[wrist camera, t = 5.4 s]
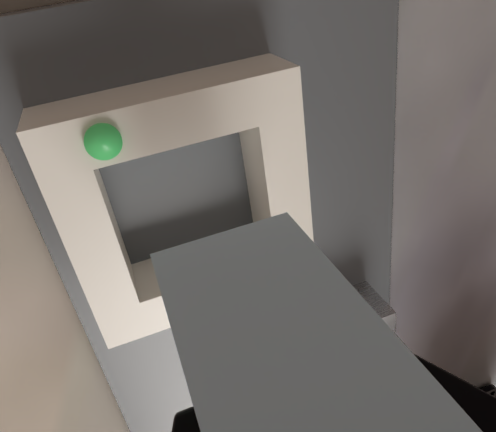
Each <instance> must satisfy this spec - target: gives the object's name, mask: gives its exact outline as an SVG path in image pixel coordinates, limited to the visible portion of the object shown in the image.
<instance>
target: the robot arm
mask: <svg viewBox="0 0 496 432" xmlns="http://www.w3.org/2000/svg"><path fill="white" fill-rule="evenodd" d="M414 355H415V354H414ZM415 356H416V357H417V359H418V360H419V361H420V362H421V363H422V364H423V365H424V366H425V368H426V369H427V370H428V371H429V372H430V373H431V374H432V375H433V377H434V378H435V379H436V380H437V381H438V382H439V383H440V384H441V385H442V387H443V388H444V389H445V390H446V391H447V392H448V393H449V394H450V396H451V397H452V398H453V399H454V400H455V401H456V402H457V403H458V405H459V406H460V407H461V408H462V409H463V410H464V411H465V412H466V414H467V415H468V416H469V417H470V418H471V419H472V420H473V421H474V422H475V424H476V425H477V426H478V427H479V428H480V429H481V430H482V431H483V432H496V387H495V386H494V385H492V384H491V385H488V386H486V387H483V388H481V389H479V388H477V387H475V386H473V385H471V384H469V383H468V382H466V381H464V380H462V379H460V378H458V377H456V376H454V375H453V374H451V373H449V372H447V371H445V370H443V369H441V368H439V367H437V366H436V365H434V364H432V363H430V362H428V361H426V360H424V359H422V358H420V357H419V356H417V355H415ZM171 432H201V431H200V428H199V424H198V421H197V417H196V414H195V410H194V407H189V408H187V409H184V410H182V411H179V412H177V413H176V414H175V416H174V419H173V425H172V431H171Z"/></svg>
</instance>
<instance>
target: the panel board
mask: <svg viewBox="0 0 496 432" xmlns="http://www.w3.org/2000/svg"><path fill="white" fill-rule="evenodd" d="M398 10H399V0H76V1H70V2H65V3H59V4H54V5H48V6H43V7H37V8H31V9H26V10H20V11H15V12H9V13H4V14H0V144H1V147H2V149H3V151H4V153H5V155H6V158H7V160H8V162H9V164H10V166H11V169H12V171H13V173H14V175H15V178H16V180H17V182H18V184H19V186H20V189H21V191H22V193H23V195H24V197H25V200H26V202H27V204H28V206H29V209H30V211H31V213H32V215H33V217H34V220H35V222H36V224H37V226H38V228H39V231H40V233H41V235H42V237H43V240H44V242H45V244H46V246H47V248H48V251H49V253H50V255H51V257H52V260H53V262H54V264H55V266H56V268H57V271H58V273H59V275H60V277H61V279H62V282H63V284H64V286H65V288H66V291H67V293H68V295H69V297H70V299H71V302H72V304H73V306H74V308H75V310H76V313H77V315H78V317H79V319H80V322H81V324H82V326H83V328H84V330H85V333H86V335H87V337H88V339H89V341H90V344H91V346H92V348H93V350H94V353H95V355H96V357H97V359H98V361H99V364H100V366H101V368H102V370H103V373H104V375H105V377H106V379H107V381H108V384H109V386H110V388H111V390H112V392H113V395H114V397H115V399H116V401H117V404H118V406H119V408H120V410H121V412H122V415H123V417H124V419H125V421H126V423H127V426H128V428H129V430H130V432H171V431H172V425H173V419H174V416H175V414H176V413H177V412H179V411H182V410H184V409H187V408H189V407H193V403H192V400H191V396H190V393H189V389H188V386H187V382H186V379H185V375H184V372H183V369H182V365H181V362H180V358H179V355H178V351H177V348H176V344H175V341H174V337H173V334H172V330H171V328H168V329H166V330H163V331H160V332H157V333H154V334H151V335H148V336H145V337H143V338H140V339H137V340H134V341H131V342H128V343H125V344H122V345H119V346H117V347H114V348H111V349H108V348H107V345H106V343H105V341H104V338H103V336H102V333H101V331H100V329H99V326H98V324H97V322H96V319H95V317H94V315H93V312H92V310H91V308H90V305H89V303H88V301H87V298H86V296H85V294H84V291H83V289H82V287H81V284H80V282H79V280H78V277H77V275H76V273H75V270H74V268H73V266H72V263H71V261H70V258H69V256H68V254H67V251H66V249H65V247H64V244H63V242H62V240H61V237H60V235H59V233H58V230H57V228H56V226H55V223H54V221H53V219H52V216H51V214H50V212H49V209H48V207H47V205H46V202H45V200H44V198H43V195H42V193H41V190H40V188H39V186H38V183H37V181H36V179H35V176H34V174H33V172H32V169H31V167H30V165H29V162H28V160H27V158H26V155H25V153H24V151H23V148H22V146H21V144H20V141H19V139H18V137H17V134H16V131H17V128H18V124H19V121H20V118H21V114H22V111H23V108H28V107H32V106H37V105H41V104H46V103H50V102H54V101H59V100H63V99H68V98H72V97H77V96H81V95H86V94H90V93H94V92H99V91H103V90H108V89H112V88H117V87H121V86H126V85H130V84H135V83H139V82H143V81H148V80H152V79H157V78H161V77H166V76H170V75H175V74H179V73H183V72H188V71H192V70H197V69H201V68H206V67H210V66H215V65H219V64H223V63H228V62H232V61H237V60H241V59H246V58H250V57H255V56H259V55H264V54H268V53H271V54H273V55H276V56H278V57H280V58H283V59H285V60H287V61H289V62H292V63H294V64H296V65H299V66H300V72H301V84H302V97H303V110H304V123H305V136H306V149H307V162H308V175H309V188H310V201H311V214H312V226H313V239H314V243H315V244H316V245H317V246H318V248H319V249H320V250H321V251H322V252H323V253H324V254H325V255H326V257H327V258H328V259H329V260H330V261H331V262H332V263H333V264H334V266H335V267H336V268H337V269H338V270H339V271H340V272H341V273H342V275H343V276H344V277H345V278H346V279H347V280H348V281H349V282H350V283H351V285H354V284H356V283H359V282H362V281H365V280H366V281H367V283H368V284H369V285H370V286H371V287H372V288H373V289H374V290H375V291H376V292H377V293H378V294H379V295H380V296H381V297H382V298H383V299H384V300H385V302H386V303H387V304H388V305H390V272H391V239H392V206H393V174H394V141H395V108H396V75H397V42H398ZM99 171H100V174H101V177H102V180H103V183H104V186H105V189H106V192H107V195H108V198H109V201H110V204H111V207H112V210H113V212H114V215H115V218H116V221H117V224H118V227H119V230H120V233H121V236H122V239H123V242H124V245H125V248H126V251H127V253H128V256H129V259H130V262H131V264H134V263H137V262H141V261H144V260H147V259H150V258H151V257H150V254H152V253H155V252H158V251H162V250H165V249H168V248H171V247H175V246H178V245H181V244H184V243H188V242H191V241H194V240H198V239H201V238H204V237H207V236H211V235H214V234H217V233H220V232H224V231H227V230H230V229H233V228H237V227H240V226H243V225H247V224H250V223H253V218H252V212H251V206H250V199H249V193H248V187H247V180H246V174H245V168H244V161H243V155H242V148H241V142H240V136H239V132H237V133H233V134H229V135H225V136H222V137H218V138H214V139H210V140H206V141H202V142H199V143H195V144H191V145H187V146H183V147H179V148H176V149H172V150H168V151H164V152H160V153H156V154H153V155H149V156H145V157H141V158H137V159H133V160H130V161H126V162H122V163H118V164H114V165H110V166H107V167H103V168H99Z"/></svg>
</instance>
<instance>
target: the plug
mask: <svg viewBox="0 0 496 432" xmlns="http://www.w3.org/2000/svg"><path fill="white" fill-rule="evenodd" d="M150 257H151V260H152V264H153V267H154V271H155V274H156V278H157V281H158V285H159V288H160V292H161V295H162V299H163V302H164V306H165V309H166V313H167V316H168V320H169V323H170V327H171V330H172V334H173V337H174V341H175V344H176V348H177V351H178V355H179V358H180V362H181V365H182V369H183V372H184V375H185V379H186V382H187V386H188V389H189V393H190V396H191V400H192V403H193V407H194V410H195V414H196V417H197V421H198V424H199V428H200V431H201V432H483V431H482V430H481V429H480V428H479V427H478V426H477V425H476V424H475V422H474V421H473V420H472V419H471V418H470V417H469V416H468V415H467V414H466V412H465V411H464V410H463V409H462V408H461V407H460V406H459V405H458V403H457V402H456V401H455V400H454V399H453V398H452V397H451V396H450V394H449V393H448V392H447V391H446V390H445V389H444V388H443V387H442V385H441V384H440V383H439V382H438V381H437V380H436V379H435V378H434V377H433V375H432V374H431V373H430V372H429V371H428V370H427V369H426V368H425V366H424V365H423V364H422V363H421V362H420V361H419V360H418V359H417V357H416V356H415V355H414V354H413V353H412V352H411V351H410V350H409V348H408V347H407V346H406V345H405V344H404V343H403V342H402V341H401V340H400V338H399V337H398V336H397V335H396V334H395V333H394V332H393V331H392V329H391V328H390V327H389V326H388V325H387V324H386V323H385V322H384V320H383V319H382V318H381V317H380V316H379V315H378V314H377V313H376V311H375V310H374V309H373V308H372V307H371V306H370V305H369V304H368V303H367V301H366V300H365V299H364V298H363V297H362V296H361V295H360V294H359V292H358V291H357V290H356V289H355V288H354V287H353V286H352V285H351V283H350V282H349V281H348V280H347V279H346V278H345V277H344V276H343V275H342V273H341V272H340V271H339V270H338V269H337V268H336V267H335V266H334V264H333V263H332V262H331V261H330V260H329V259H328V258H327V257H326V255H325V254H324V253H323V252H322V251H321V250H320V249H319V248H318V246H317V245H316V244H315V243H314V242H313V241H312V240H311V239H310V238H309V236H308V235H307V234H306V233H305V232H304V231H303V230H302V229H301V227H300V226H299V225H298V224H297V223H296V222H295V221H294V220H293V218H292V217H291V216H290V215H289V214H288V213H287V212H286V213H283V214H279V215H276V216H273V217H269V218H266V219H263V220H260V221H256V222H253V223H250V224H247V225H243V226H240V227H237V228H233V229H230V230H227V231H224V232H220V233H217V234H214V235H211V236H207V237H204V238H201V239H198V240H194V241H191V242H188V243H184V244H181V245H178V246H175V247H171V248H168V249H165V250H162V251H158V252H155V253H152V254H150Z"/></svg>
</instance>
